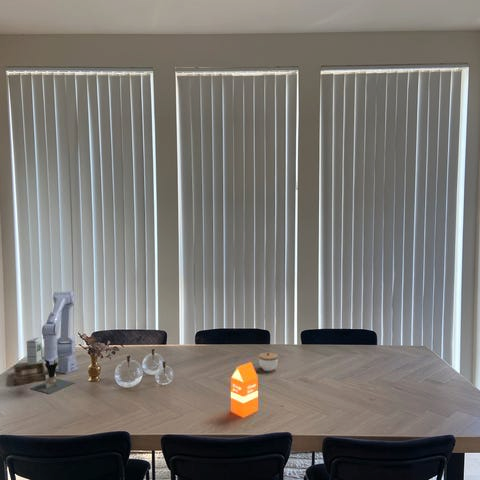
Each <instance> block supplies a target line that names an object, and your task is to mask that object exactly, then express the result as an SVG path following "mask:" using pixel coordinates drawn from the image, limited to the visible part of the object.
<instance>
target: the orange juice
mask: <svg viewBox="0 0 480 480" xmlns="http://www.w3.org/2000/svg"><path fill="white" fill-rule="evenodd" d="M258 380H259V378H258V375H257V373H256V370H255V368H254V365H253V363H252V361H250V362H247V363H245V364H244V363H243V364H241V365H238V366H236V369H235V370H234V372H233V374H232V375H231V377H230V411H231V413H233V414H235V415H236V416H239V417H241V418H243V419H244V418H246V417H248V416H250V415H252V414H254V413H255V412H258V411H259V391H258V390H259V388H258V387H259V386H258V385H259V381H258Z"/></svg>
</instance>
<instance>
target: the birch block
mask: <svg viewBox="0 0 480 480" xmlns="http://www.w3.org/2000/svg"><path fill="white" fill-rule="evenodd" d="M56 373H57V372H55V375H54V377H51V378H49V374H46V380H45V382H46V388H50V387H55V386H56V379H57V375H56Z"/></svg>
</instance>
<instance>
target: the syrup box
mask: <svg viewBox="0 0 480 480" xmlns="http://www.w3.org/2000/svg"><path fill="white" fill-rule="evenodd" d="M42 344H43V343H42V337H32V338H30V339H28V340H26V362H27V364H26V365H30V364H36V363H42V362H43V359H42V357H43V352H42V351H43V350H42V349H43V347H42Z"/></svg>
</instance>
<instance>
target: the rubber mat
mask: <svg viewBox="0 0 480 480" xmlns="http://www.w3.org/2000/svg"><path fill="white" fill-rule="evenodd" d="M74 384H75V382H72V381H69V380H64V379H61V378H56V386H55V387H50V388H46V381H45V382H43V383H41V384H37V385H35V386H33V387H30V390H33V391H36V392H40V393H42V394H43V393H44V394H48V395H51V394H54V393H56V392H59V391H60V390H62V389H65V388H67V387H70V386H72V385H74Z"/></svg>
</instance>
